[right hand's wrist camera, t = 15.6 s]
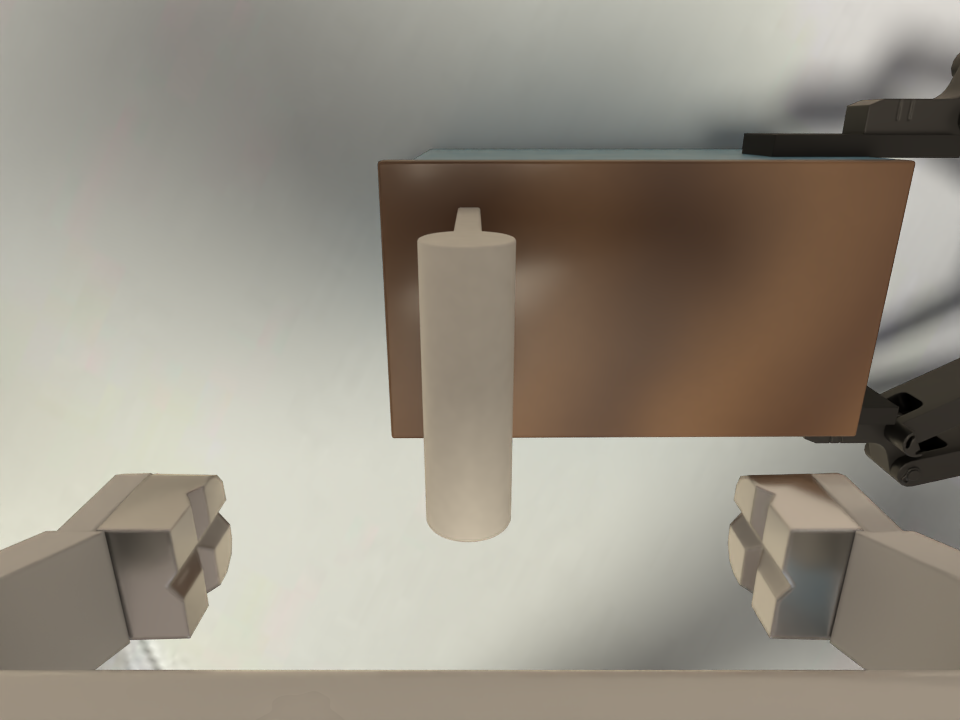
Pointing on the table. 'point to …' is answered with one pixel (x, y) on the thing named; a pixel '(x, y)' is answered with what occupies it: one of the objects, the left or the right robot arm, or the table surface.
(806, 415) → the lid
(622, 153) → the chest
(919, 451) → the left robot arm
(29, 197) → the table surface
